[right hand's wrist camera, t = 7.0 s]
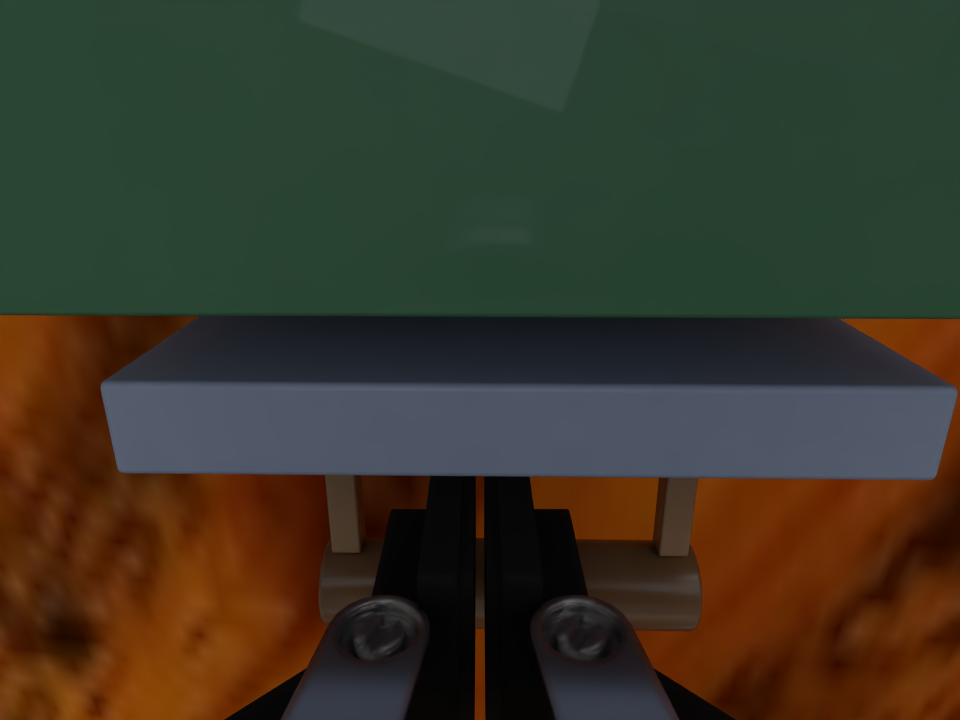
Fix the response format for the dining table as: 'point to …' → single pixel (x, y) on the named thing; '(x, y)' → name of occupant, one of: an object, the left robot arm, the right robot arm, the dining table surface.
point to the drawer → (530, 420)
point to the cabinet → (481, 158)
